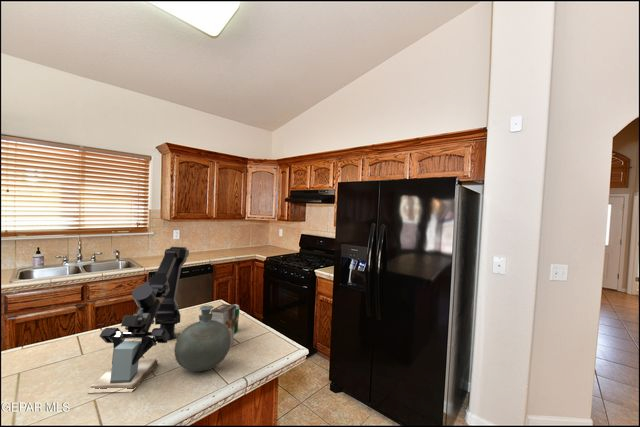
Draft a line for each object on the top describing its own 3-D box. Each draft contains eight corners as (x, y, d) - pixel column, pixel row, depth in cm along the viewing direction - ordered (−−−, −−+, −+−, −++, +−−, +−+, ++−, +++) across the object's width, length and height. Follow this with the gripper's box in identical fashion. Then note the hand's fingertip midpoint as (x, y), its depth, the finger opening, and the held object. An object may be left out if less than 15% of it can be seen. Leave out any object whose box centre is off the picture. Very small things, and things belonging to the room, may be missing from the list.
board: (120, 364, 89) (121, 358, 89) (157, 363, 91) (157, 357, 91) (87, 393, 73) (88, 386, 74) (132, 392, 75) (133, 385, 75)
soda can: (226, 329, 122) (228, 304, 123) (237, 328, 124) (239, 303, 125) (226, 334, 118) (229, 307, 118) (238, 333, 120) (240, 307, 120)
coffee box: (220, 340, 111) (223, 303, 112) (233, 342, 110) (236, 305, 111) (207, 350, 102) (210, 309, 103) (221, 353, 101) (224, 311, 102)
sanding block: (119, 373, 80) (123, 341, 81) (137, 372, 81) (140, 341, 82) (110, 383, 75) (114, 348, 76) (128, 382, 76) (132, 348, 77)
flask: (184, 360, 94) (189, 300, 95) (231, 362, 94) (236, 302, 96) (167, 379, 82) (173, 310, 83) (220, 381, 83) (226, 313, 84)
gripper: (106, 302, 82) (75, 355, 70) (169, 303, 84) (148, 354, 73) (119, 318, 89) (93, 368, 78) (176, 319, 92) (158, 367, 80)
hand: (122, 364), depth 77 cm, fingers closed on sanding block, 5 cm apart
